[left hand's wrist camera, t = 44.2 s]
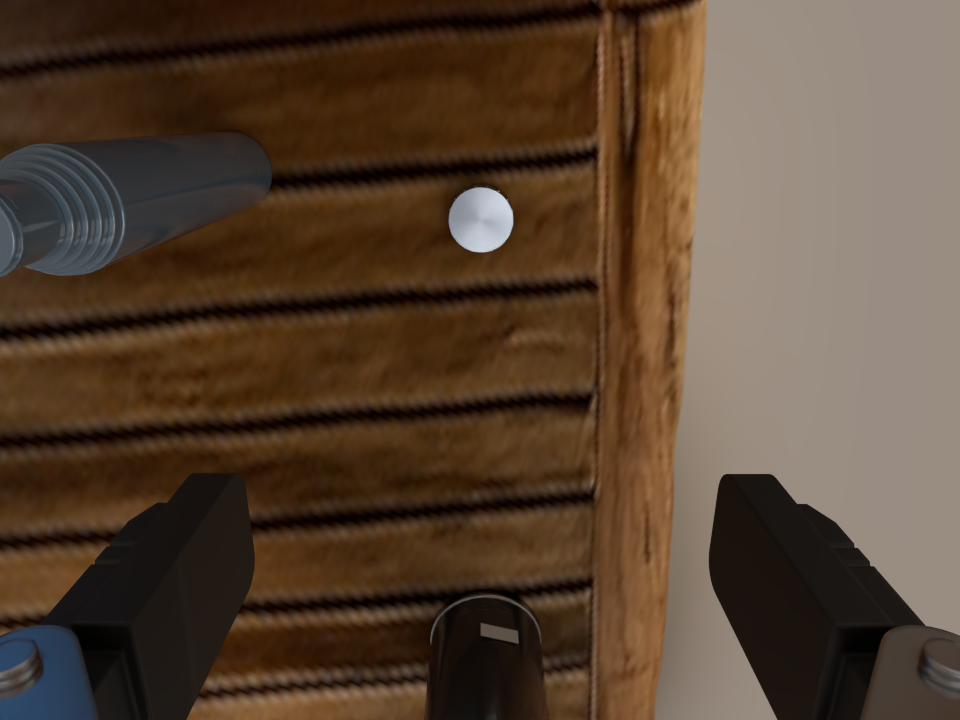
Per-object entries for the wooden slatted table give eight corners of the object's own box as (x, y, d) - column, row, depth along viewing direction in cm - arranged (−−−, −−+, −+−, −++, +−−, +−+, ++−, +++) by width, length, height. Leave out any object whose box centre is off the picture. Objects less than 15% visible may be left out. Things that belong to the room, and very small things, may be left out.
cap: (471, 170, 44) (470, 172, 42) (525, 206, 45) (527, 210, 43) (437, 225, 45) (435, 230, 43) (490, 258, 46) (490, 265, 44)
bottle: (283, 153, 44) (66, 197, 21) (256, 222, 45) (27, 334, 22) (210, 116, 43) (-101, 119, 20) (185, 188, 45) (-129, 267, 22)
